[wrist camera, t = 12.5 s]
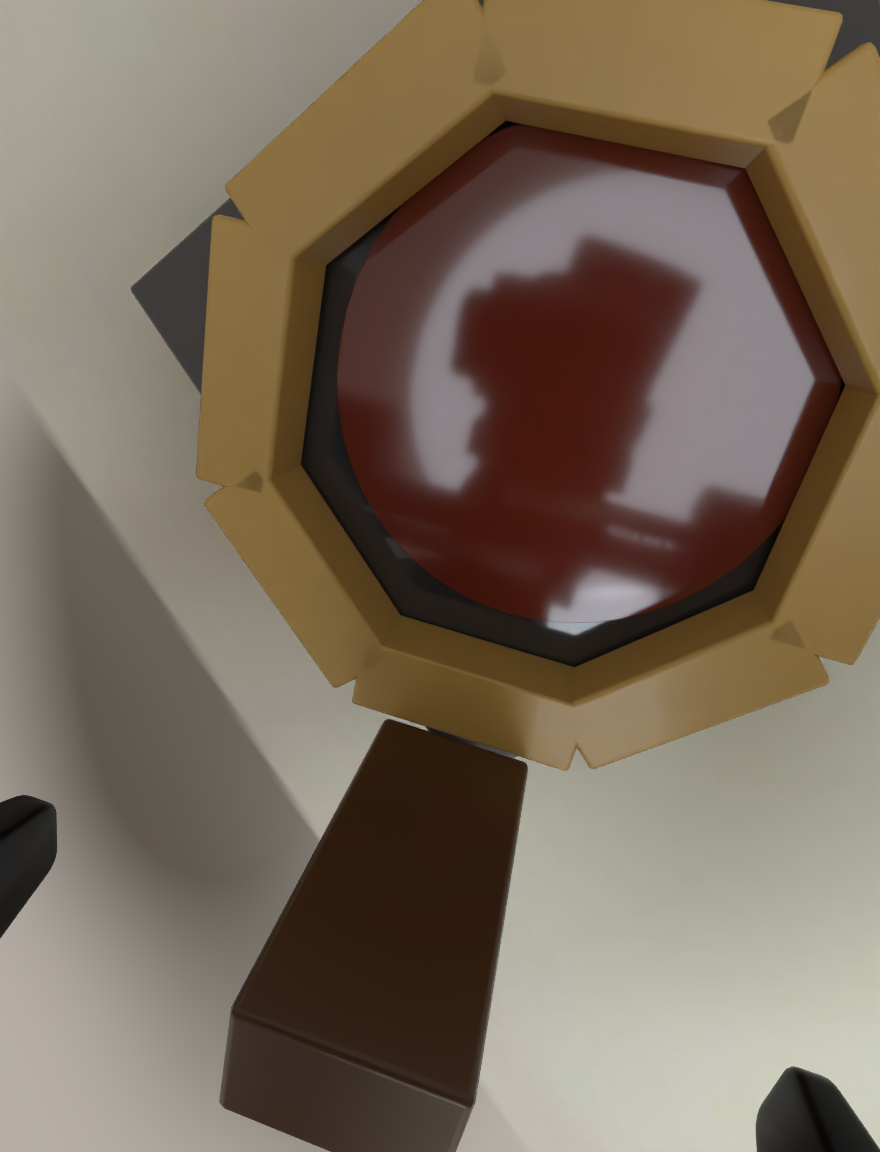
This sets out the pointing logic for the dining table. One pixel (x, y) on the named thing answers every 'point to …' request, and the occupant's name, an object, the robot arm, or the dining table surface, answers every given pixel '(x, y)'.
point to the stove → (557, 386)
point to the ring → (467, 664)
